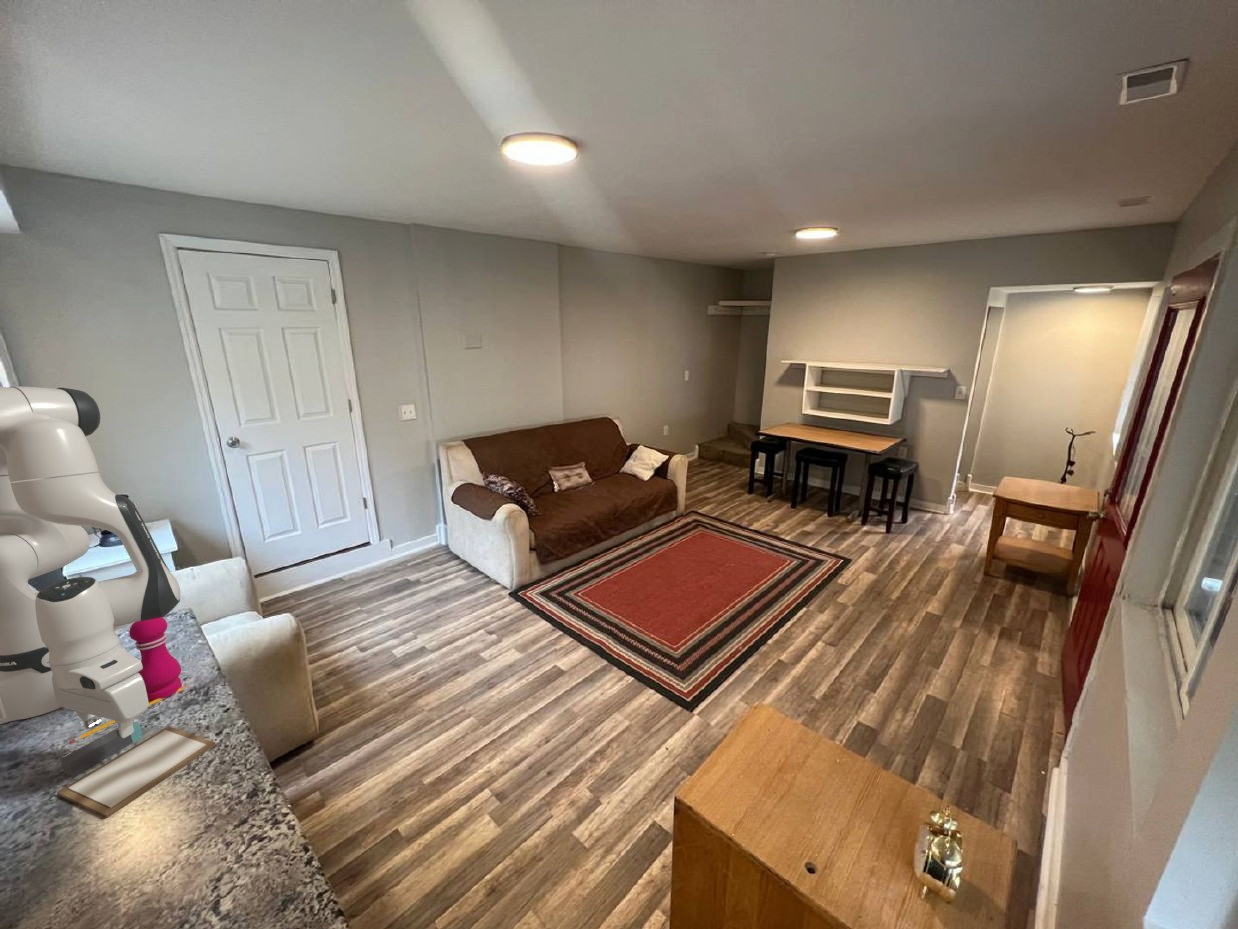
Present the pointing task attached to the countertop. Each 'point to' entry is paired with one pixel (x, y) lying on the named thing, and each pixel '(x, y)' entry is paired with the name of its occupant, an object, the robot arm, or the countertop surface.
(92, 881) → the countertop surface
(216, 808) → the countertop surface
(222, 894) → the countertop surface
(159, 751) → the board
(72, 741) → the pencil
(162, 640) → the pepper mill
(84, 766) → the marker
